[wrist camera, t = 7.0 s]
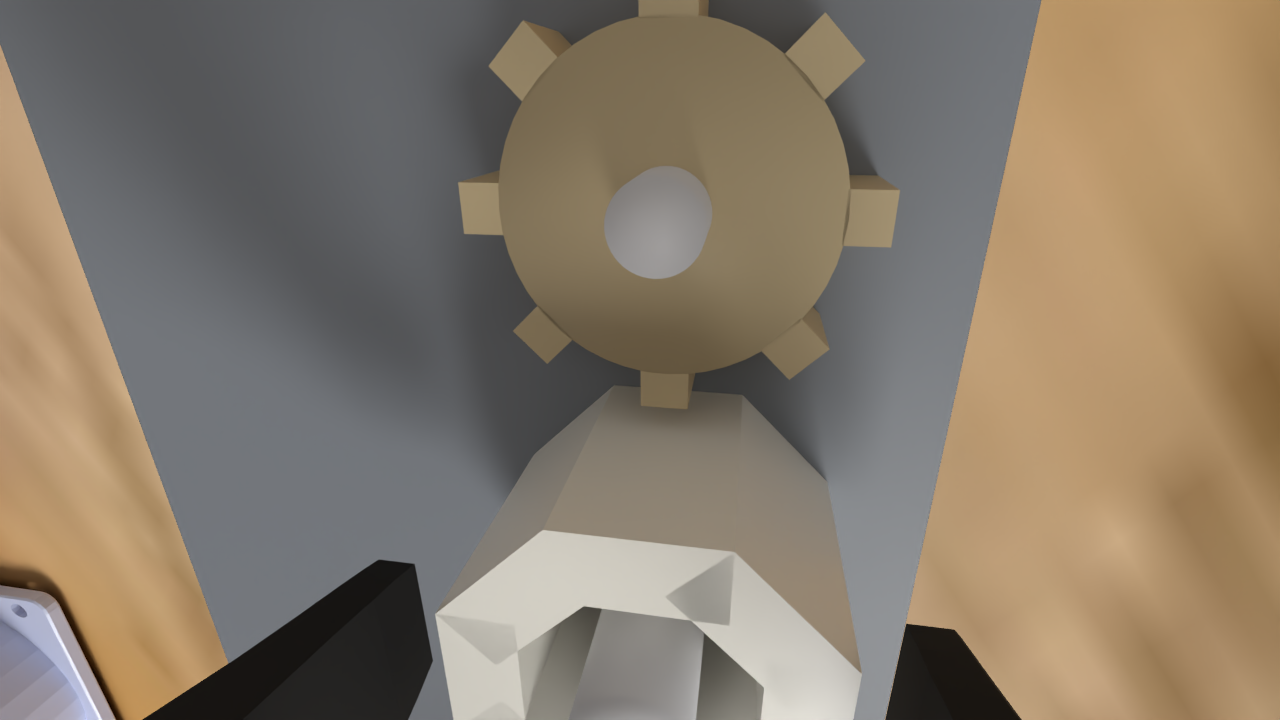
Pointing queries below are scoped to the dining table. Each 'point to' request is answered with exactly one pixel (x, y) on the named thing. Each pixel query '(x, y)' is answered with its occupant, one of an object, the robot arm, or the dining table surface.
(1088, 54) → the dining table surface
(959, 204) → the gear board
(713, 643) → the octagonal pipe segment
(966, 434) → the dining table surface
